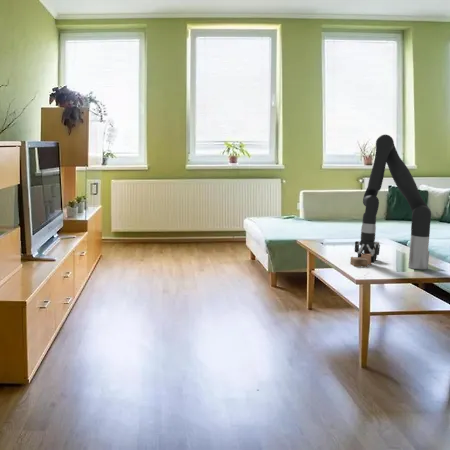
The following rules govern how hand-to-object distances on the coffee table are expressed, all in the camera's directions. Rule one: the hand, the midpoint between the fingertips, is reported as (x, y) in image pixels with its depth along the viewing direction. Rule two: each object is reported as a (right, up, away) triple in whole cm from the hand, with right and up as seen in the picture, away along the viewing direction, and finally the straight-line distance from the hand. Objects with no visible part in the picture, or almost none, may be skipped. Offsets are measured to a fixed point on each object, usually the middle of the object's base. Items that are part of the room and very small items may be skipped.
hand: (365, 261), depth 302 cm
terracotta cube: (0, -1, 0) cm, 1 cm away
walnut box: (-5, -2, -6) cm, 9 cm away
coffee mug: (+5, 0, +14) cm, 15 cm away
